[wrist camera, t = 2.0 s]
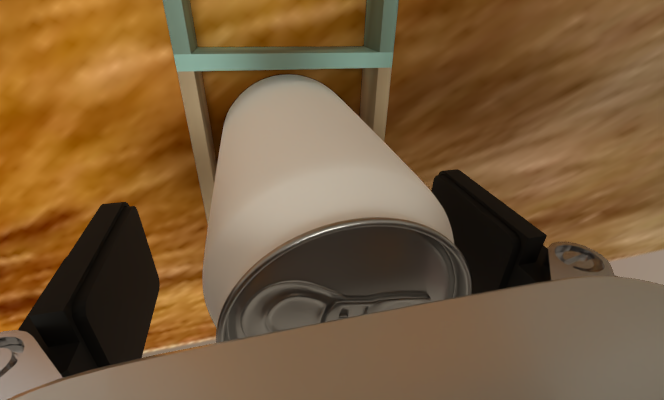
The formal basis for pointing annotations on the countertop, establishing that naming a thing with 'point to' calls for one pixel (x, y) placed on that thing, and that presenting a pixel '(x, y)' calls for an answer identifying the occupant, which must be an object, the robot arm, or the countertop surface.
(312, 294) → the can
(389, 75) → the slot rack
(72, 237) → the countertop surface
